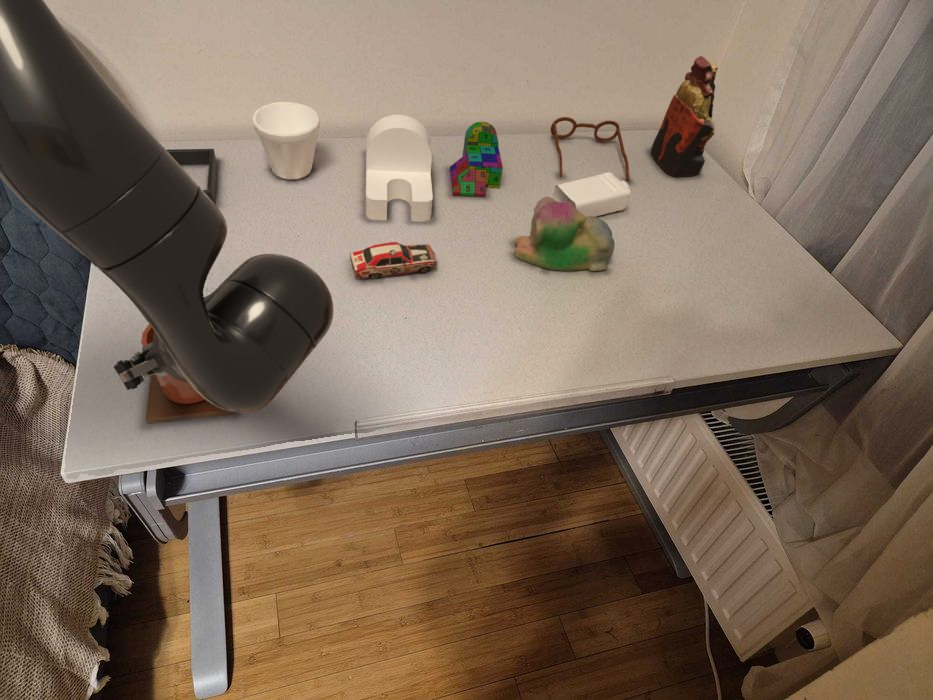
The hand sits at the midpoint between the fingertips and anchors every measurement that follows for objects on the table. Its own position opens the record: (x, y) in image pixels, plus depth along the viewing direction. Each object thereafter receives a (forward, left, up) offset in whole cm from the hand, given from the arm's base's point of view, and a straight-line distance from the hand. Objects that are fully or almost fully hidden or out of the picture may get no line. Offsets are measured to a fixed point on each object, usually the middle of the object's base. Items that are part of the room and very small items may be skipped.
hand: (175, 347), depth 67 cm
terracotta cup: (+1, -1, -4) cm, 5 cm away
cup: (+14, +42, -6) cm, 44 cm away
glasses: (+67, +43, -6) cm, 79 cm away
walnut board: (+1, -1, -6) cm, 6 cm away
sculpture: (+53, +17, -6) cm, 56 cm away
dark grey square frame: (-4, +39, -6) cm, 39 cm away
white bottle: (+62, +28, -6) cm, 68 cm away
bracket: (+30, +37, -6) cm, 48 cm away
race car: (+27, +17, -6) cm, 32 cm away
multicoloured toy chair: (+44, +39, -6) cm, 59 cm away
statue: (+84, +42, -6) cm, 94 cm away
